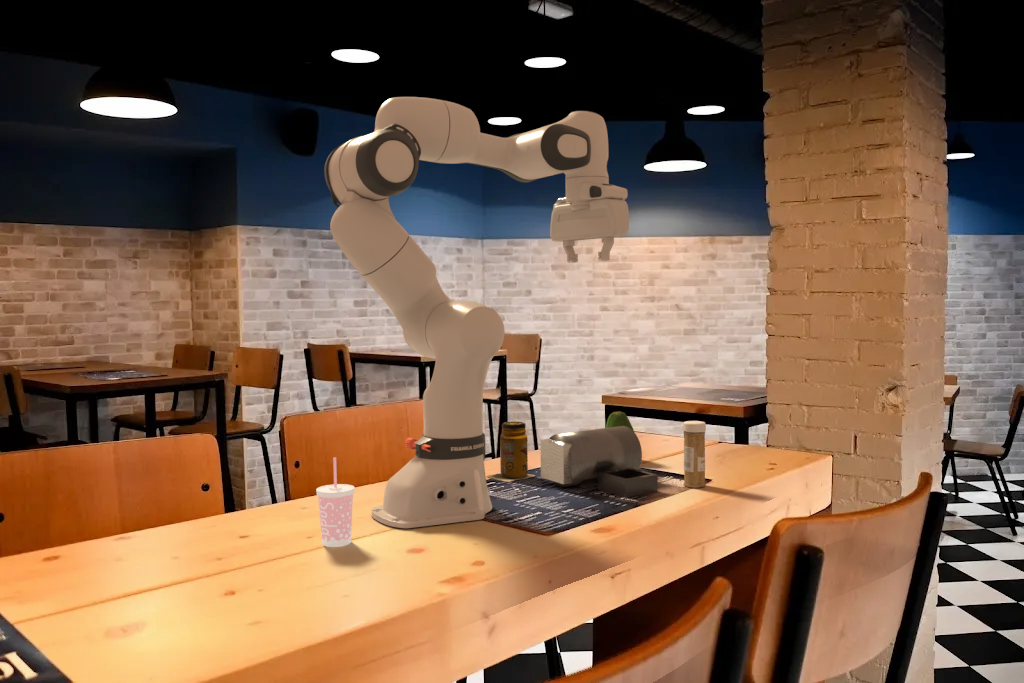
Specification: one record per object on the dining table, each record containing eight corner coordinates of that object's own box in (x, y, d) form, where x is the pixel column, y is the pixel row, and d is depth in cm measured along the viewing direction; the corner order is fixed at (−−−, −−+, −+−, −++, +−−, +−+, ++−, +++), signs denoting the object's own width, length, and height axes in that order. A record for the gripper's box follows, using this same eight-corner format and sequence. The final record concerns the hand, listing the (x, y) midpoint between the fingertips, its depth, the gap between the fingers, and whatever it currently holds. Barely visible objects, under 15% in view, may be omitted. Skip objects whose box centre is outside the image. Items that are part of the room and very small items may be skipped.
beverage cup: (310, 542, 134) (308, 457, 133) (344, 535, 138) (342, 452, 137) (328, 550, 129) (326, 463, 128) (362, 543, 133) (360, 457, 132)
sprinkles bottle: (708, 488, 168) (708, 423, 168) (686, 488, 168) (686, 423, 167) (701, 483, 173) (701, 419, 172) (680, 483, 173) (680, 420, 172)
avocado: (598, 458, 200) (598, 409, 199) (628, 456, 202) (628, 408, 202) (611, 465, 192) (611, 414, 192) (642, 462, 194) (642, 412, 194)
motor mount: (599, 502, 157) (598, 446, 157) (536, 483, 174) (536, 431, 174) (684, 486, 170) (684, 433, 169) (618, 469, 187) (618, 421, 187)
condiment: (536, 476, 181) (535, 422, 181) (508, 482, 175) (507, 427, 175) (513, 471, 187) (512, 419, 186) (485, 477, 181) (484, 423, 180)
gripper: (542, 198, 173) (543, 263, 174) (610, 187, 157) (611, 259, 158) (565, 199, 177) (565, 263, 178) (633, 189, 161) (634, 259, 162)
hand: (587, 261), depth 168 cm, fingers open, 8 cm apart
